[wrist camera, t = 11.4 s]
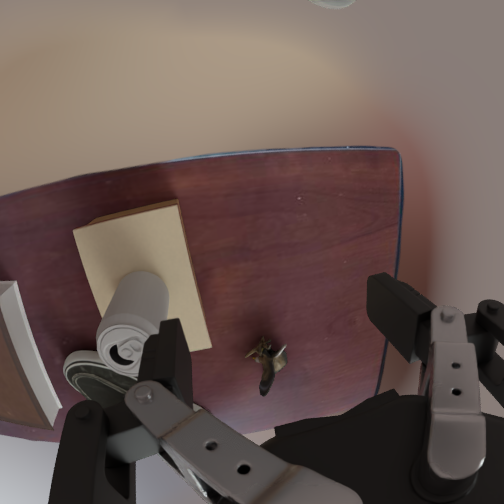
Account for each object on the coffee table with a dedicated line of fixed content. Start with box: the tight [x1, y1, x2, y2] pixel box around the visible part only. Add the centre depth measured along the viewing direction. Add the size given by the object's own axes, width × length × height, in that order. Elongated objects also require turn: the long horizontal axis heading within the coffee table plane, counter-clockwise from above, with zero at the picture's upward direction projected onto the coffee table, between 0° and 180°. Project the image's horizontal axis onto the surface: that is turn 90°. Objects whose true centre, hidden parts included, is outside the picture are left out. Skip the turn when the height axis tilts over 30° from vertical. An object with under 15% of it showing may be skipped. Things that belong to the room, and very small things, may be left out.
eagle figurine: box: [245, 336, 287, 397], centre depth 49 cm, size 8×7×9 cm
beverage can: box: [96, 271, 170, 377], centre depth 30 cm, size 6×6×12 cm
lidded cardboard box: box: [73, 199, 212, 352], centre depth 40 cm, size 19×13×8 cm
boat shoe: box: [63, 350, 205, 411], centre depth 45 cm, size 11×31×10 cm, turn 51°
